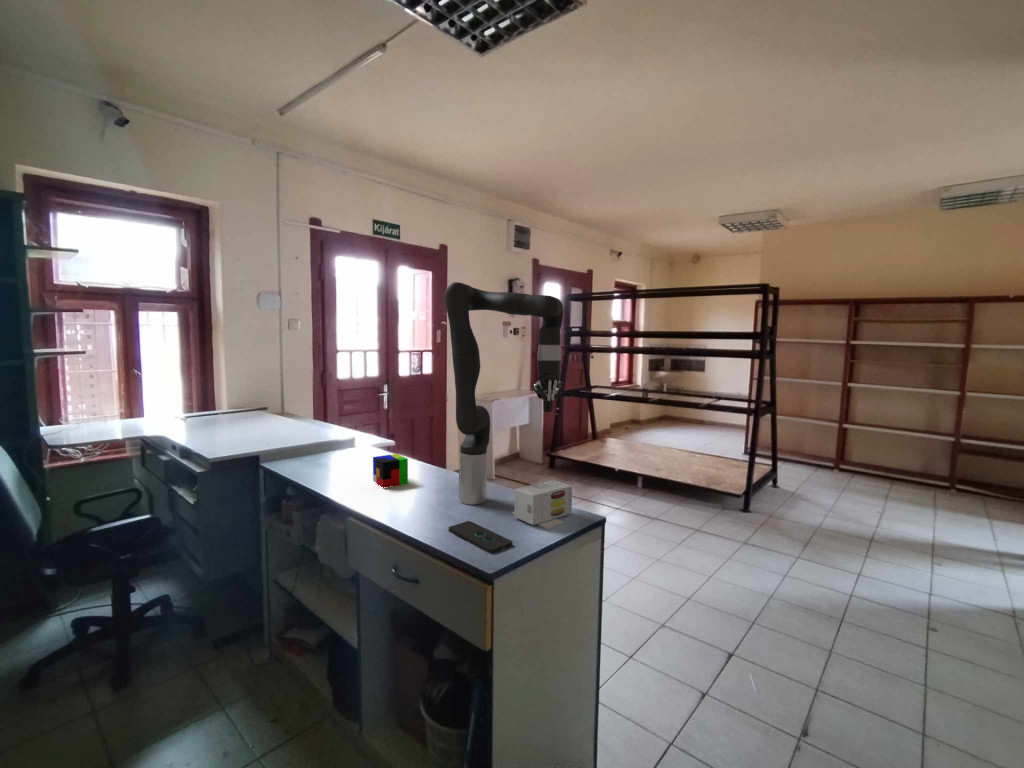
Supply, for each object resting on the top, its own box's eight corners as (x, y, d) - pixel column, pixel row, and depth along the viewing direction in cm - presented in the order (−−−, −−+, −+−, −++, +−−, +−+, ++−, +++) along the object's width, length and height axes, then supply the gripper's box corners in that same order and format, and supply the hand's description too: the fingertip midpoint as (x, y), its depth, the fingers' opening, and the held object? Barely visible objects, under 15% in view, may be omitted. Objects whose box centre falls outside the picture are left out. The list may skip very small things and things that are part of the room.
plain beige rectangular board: (512, 513, 153) (512, 511, 153) (528, 509, 157) (528, 507, 157) (546, 529, 141) (546, 527, 141) (563, 523, 145) (563, 521, 145)
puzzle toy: (373, 482, 184) (372, 457, 183) (397, 477, 190) (397, 453, 189) (382, 488, 176) (382, 462, 175) (407, 484, 182) (407, 458, 181)
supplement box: (532, 495, 140) (572, 484, 151) (513, 487, 148) (553, 478, 158) (533, 526, 141) (572, 513, 151) (513, 517, 148) (553, 506, 159)
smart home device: (490, 549, 123) (447, 526, 138) (490, 556, 124) (447, 532, 138) (514, 541, 129) (469, 519, 144) (513, 547, 129) (469, 525, 144)
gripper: (555, 358, 159) (554, 408, 161) (526, 358, 151) (525, 412, 152) (571, 359, 153) (570, 411, 155) (542, 359, 145) (541, 415, 147)
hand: (547, 411), depth 154 cm, fingers closed
